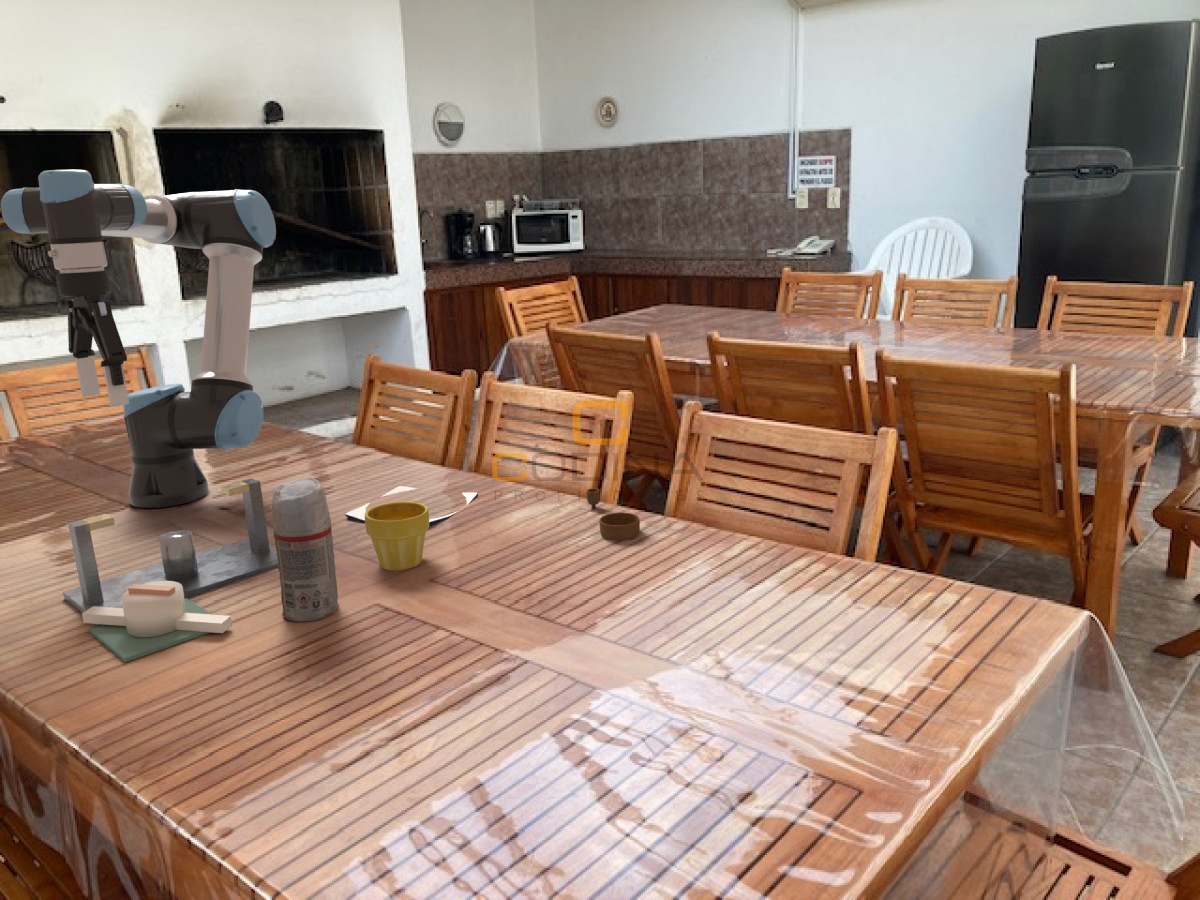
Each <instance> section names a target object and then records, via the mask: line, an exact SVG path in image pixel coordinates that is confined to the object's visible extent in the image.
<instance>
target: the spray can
mask: <svg viewBox="0 0 1200 900" xmlns="http://www.w3.org/2000/svg"><path fill="white" fill-rule="evenodd" d="M271 496H272V497H271V498H272V499H271V517H272V526H273V529H272V530H273V531H272V532H273V540H274V545H275V546H274V547H275V550H276V555H277V559H278V567H277V568H278V573H279V582H280V583H279V584H280V594H281V595H280V596H281V597H280V598H281V605H282V614H281V615H282V617H283V618H285V619H287V620H288V621H291V622H313V621H318V620H321V619H324V618H327V617H330V616H332V615H333V614H335V613H336V612H337V611H338V609H339V607H340V605H339V602H338V598H339V597H338V583H337V582H338V581H337V577H336V576H337V574H336V573H337V572H336V562H335V561H336V560H335V553H334V552H335V551H334V540H333V534H332V532H333V531H332V520H331V515H330V511H329V506H328V502H327V496H326V490H325V487H324V484H323V483H322V482H321V481H320V480H318V479H316V478H313V477H311V476H310V477H309V476H308V477H305V478H301V479H293V480H292V481H288V482H285V481H284V482H281V483H278V484H277V485H276V486H275V487H274V488H273V490H272V495H271Z"/></svg>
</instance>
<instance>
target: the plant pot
mask: <svg viewBox="0 0 1200 900" xmlns="http://www.w3.org/2000/svg"><path fill="white" fill-rule="evenodd" d="M429 512H430V511H429V508H428V506H427V505H426V504H424V503H422V502H417V501H409V500H408V501H407V500H406V501H404V500H403V501H391V502H387V503H386V502H385V503H381V504H377V505H375V506H373V507H370V508H369V509H367V510H366V512H365V523H364V525H365V532H366V535H367V536H369V537H370V539H371V540H372V545H373V547H374V551H375V555H376V557H377V561H378V563H379V566H380V568H381V569H384V570H387V571H403V570H407V569H410V568H413V567H416V566H418V565H420V564H421V563H422V560H423V553H424V547H425V537H426V532H427V531H428V530H429V528H430V526H429V519H430V513H429Z"/></svg>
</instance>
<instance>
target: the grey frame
mask: <svg viewBox="0 0 1200 900" xmlns="http://www.w3.org/2000/svg"><path fill="white" fill-rule="evenodd" d="M220 489H221V490H220V491H221V494H223V495H226V496H228V497H232V496H235V495H240V494H242V499H243V506H244V512H245V518H246V519H245V520H246V526H247V532H248V538H245V539H242V540H241V539H240V540H239V541H235V542H231V543H228V544H225V545H221V546H217V547H212V548H211V549H206V550H203V551H200V552H196V548H195V543H194V542H195V541H194V535H193V531H191V530H189V529H178V530H177V529H176V530H172V531H168V532H165V533H163V534H160V535H159V536H158V542H159V543H158V544H159V549H160V554H161V555H160V556H161V561H162V562H161V563H158V564H154V565H151V566H148V567H143V568H139V569H137V570H134V571H130V572H127V573H123V574H120V575H116V576H112V577H109V578H105V579H102V580H100V575H99V574H100V573H99V569H98V564H97V560H96V559H97V558H96V555H95V549H94V544H93V539H92V533H91V532H92V531H97V530H100V529H104V528H108V527H112V526H115V525H116V524H115V519H114V516H112V515H110V514H108V513H103V514H99V515H96V516H91V517H86V518H84V519H83V518H82V519H78V520H75V521H71V522H67V525H68V531H69V535H70V540H71V541H70V542H71V545H72V551H73V556H74V561H75V565H76V571H77V574H78V575H77V576H78V581H79V586H77V587H74V588H70V589H68V590H64V591H62V594H63V599H64V600H65V601H67V603H69V604H70V605H72V607H74V608H75V609H76V610H78V612H80V613H81V614H82V613H83V612H85V611H86V610H88V609H90V608H91V607H93V606H97V607H111V608H123V606H122V600H121V597H122V595H123V594H124V593H125V592H126V591H127V590H128V588H129V587H130V586H132V585H133V584H145V583H149V582H155V581H174V582H178V583H180V584H181V585H182V587H183V593H184V599H185V598H187V599H190V598H192V597H196V596H198V595H201V594H204V593H207V592H210V591H213V590H215V589H218V588H219V589H220V588H222V587H224V586H227V585H228V586H229V585H230V584H233V583H237V582H239V581H243V580H245V579H249V578H250V577H254V576H257V575H259V574H263V573H265V572H268V571H271V570H275V569H277V568H278V559H277V555H276V548H272V547H271V546H270V544H269V543H270V542H269V536H268V529H267V522H266V521H267V520H266V514H265V507H264V499H263V493H262V486H261V481H260V480H258V479H254V478H248V479H244V480H240V481H236V482H232V483H227V484H223V485H220ZM262 572H263V573H262ZM100 625H103V624H95V626H96V627H97V626H100Z"/></svg>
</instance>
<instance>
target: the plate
mask: <svg viewBox="0 0 1200 900" xmlns="http://www.w3.org/2000/svg"><path fill="white" fill-rule="evenodd" d="M414 490H418V488H416V487H410V486H405V485H403V486H402V485H399V486H397V487H394V488H392V490H390V491H388V492H386V493H384V494H383V495H381V496H380V498H381V497H386V496H389V495H395V494H397V493H398V494H399V493H401V492H409V491H414ZM461 493H462V495H463V497H465V500H466V506H468V505H469V504H471V503H472V502H473V501H474V500H475V499H476V498H477V497H478V495H479V494H478V492H461ZM374 500H376V499H374ZM369 504H370V502H367V503H366V504H364V505H362V506H360V507H356V508H355V509H352V510H350V511H348V512H346V513H345V514H344V516H345V517H347V518H348V519H349V520H352V521H356V522H357V521H358V522H361V523H364V524H365V512H366V511H367V510H366V509H367V508H368V506H369ZM463 509H464V507H462V508H461V509H459V510H457V511H455V512H453V513H450V514H447V515H443V516H440V517H436V518H431V519H430V518H429V527H431V526H433V525H436V524H439V523H440V522H443V521H444V520H447V519H449V518H451V517H452V516H454V515H456V514H457V513H459V512H460V511H461V510H463Z"/></svg>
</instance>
